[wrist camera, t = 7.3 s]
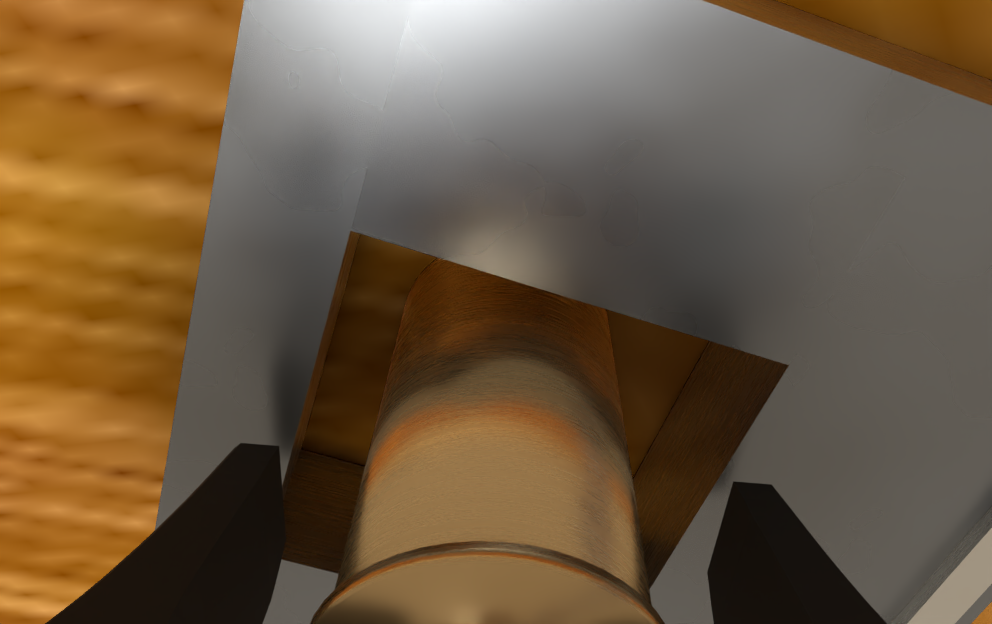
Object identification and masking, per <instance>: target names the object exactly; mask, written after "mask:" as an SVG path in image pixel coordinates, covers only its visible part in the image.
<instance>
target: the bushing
mask: <svg viewBox="0 0 992 624" xmlns="http://www.w3.org/2000/svg"><path fill="white" fill-rule="evenodd" d="M310 624H665V623H664V621H663V620H662V618H661V617H660V615H659V614H658V613H657V611H656V610H655V609H654V608H653V607H652V603H651V597H650V590H649V583H648V577H647V570H646V564H645V557H644V551H643V544H642V538H641V531H640V525H639V518H638V512H637V505H636V499H635V492H634V486H633V479H632V473H631V466H630V460H629V453H628V446H627V440H626V433H625V427H624V420H623V414H622V407H621V401H620V394H619V388H618V381H617V375H616V368H615V362H614V355H613V349H612V342H611V336H610V329H609V323H608V316H607V311H606V309H604V308H601V307H598V306H594V305H591V304H588V303H585V302H581V301H578V300H575V299H571V298H568V297H565V296H562V295H558V294H555V293H552V292H549V291H545V290H542V289H539V288H536V287H532V286H529V285H526V284H523V283H519V282H516V281H513V280H510V279H506V278H503V277H500V276H497V275H493V274H490V273H487V272H484V271H480V270H477V269H474V268H470V267H467V266H464V265H461V264H457V263H454V262H451V261H448V260H444V259H441V258H437V259H435V260H434V261H433V262H432V263H431V264H430V265H429V266H428V267H426V268H425V270H424V271H423V272H422V273H421V274H420V276H419V277H418V278H417V280H416V281H415V283H414V284H413V286H412V288H411V290H410V292H409V295H408V297H407V299H406V303H405V307H404V311H403V315H402V319H401V323H400V328H399V332H398V336H397V340H396V344H395V348H394V352H393V356H392V360H391V364H390V368H389V372H388V376H387V380H386V384H385V388H384V392H383V396H382V400H381V404H380V408H379V412H378V416H377V420H376V425H375V429H374V433H373V437H372V441H371V445H370V449H369V453H368V457H367V461H366V465H365V469H364V473H363V477H362V481H361V485H360V489H359V493H358V497H357V501H356V505H355V509H354V513H353V517H352V521H351V526H350V530H349V534H348V538H347V542H346V546H345V550H344V554H343V558H342V562H341V566H340V570H339V574H338V578H337V582H336V586H335V590H334V591H333V592H332V593H331V594H330V595H329V596H328V597H327V598H326V599H325V600H324V601H323V603H322V604H321V605H320V607H319V608H318V610H317V611H316V612H315V614H314V615H313V618H312V620H311V622H310Z"/></svg>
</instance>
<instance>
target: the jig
mask: <svg viewBox="0 0 992 624" xmlns="http://www.w3.org/2000/svg"><path fill="white" fill-rule="evenodd" d="M360 234H363V235H366V236H369V237H373V238H376V239H379V240H383V241H386V242H389V243H392V244H396V245H399V246H402V247H405V248H409V249H412V250H415V251H418V252H422V253H425V254H428V255H431V256H435V257H438V258H441V259H444V260H448V261H451V262H454V263H457V264H461V265H464V266H467V267H470V268H474V269H477V270H480V271H484V272H487V273H490V274H493V275H497V276H500V277H503V278H506V279H510V280H513V281H516V282H519V283H523V284H526V285H529V286H532V287H536V288H539V289H542V290H545V291H549V292H552V293H555V294H558V295H562V296H565V297H568V298H571V299H575V300H578V301H581V302H585V303H588V304H591V305H594V306H598V307H601V308H604V309H607V310H611V311H614V312H617V313H620V314H624V315H627V316H630V317H633V318H637V319H640V320H643V321H646V322H650V323H653V324H656V325H659V326H663V327H666V328H669V329H672V330H676V331H679V332H682V333H686V334H689V335H692V336H695V337H699V338H702V339H705V340H708V341H709V343H708V345H707V346H706V348H705V350H704V352H703V354H702V356H701V357H700V359H699V361H698V363H697V365H696V366H695V368H694V370H693V372H692V374H691V375H690V377H689V379H688V381H687V383H686V384H685V386H684V388H683V390H682V392H681V394H680V395H679V397H678V399H677V401H676V403H675V404H674V406H673V408H672V410H671V412H670V413H669V415H668V417H667V419H666V421H665V423H664V424H663V426H662V428H661V430H660V432H659V433H658V435H657V437H656V439H655V441H654V442H653V444H652V446H651V448H650V450H649V451H648V453H647V455H646V457H645V459H644V461H643V462H642V464H641V466H640V468H639V470H638V471H637V473H636V475H635V477H634V479H633V486H634V492H635V499H636V505H637V512H638V518H639V525H640V531H641V538H642V544H643V551H644V557H645V564H646V570H647V577H648V583H649V590H650V597H651V603H652V607H653V608H654V609H655V610H656V611H657V613H658V614H659V615H660V617H661V618H662V620H663V621H664V623H665V624H714V621H713V614H712V607H711V599H710V591H709V582H708V574H707V571H708V568H709V564H710V561H711V557H712V554H713V550H714V547H715V543H716V540H717V536H718V533H719V529H720V526H721V522H722V519H723V515H724V512H725V508H726V505H727V501H728V498H729V494H730V491H731V487H732V484H733V481H734V482H747V483H760V484H772V486H773V487H774V488H775V489H776V491H777V492H778V493H779V494H780V496H781V497H782V498H783V499H784V501H785V502H786V503H787V504H788V506H789V507H790V508H791V509H792V511H793V512H794V513H795V515H796V516H797V517H798V518H799V520H800V521H801V522H802V523H803V525H804V526H805V527H806V529H807V530H808V531H809V532H810V534H811V535H812V536H813V537H814V539H815V540H816V541H817V542H818V544H819V545H820V546H821V547H822V549H823V550H824V551H825V552H826V554H827V555H828V556H829V557H830V558H831V560H832V561H833V562H834V563H835V565H836V566H837V567H838V568H839V569H840V571H841V572H842V573H843V574H844V575H845V576H846V578H847V579H848V580H849V581H850V582H851V583H852V585H853V586H854V587H855V588H856V589H857V591H858V592H859V593H860V594H861V595H862V596H863V598H864V599H865V600H866V601H867V602H868V603H869V604H870V605H871V607H872V608H873V609H874V610H875V611H876V612H877V613H878V614H879V615H880V616H881V617H882V619H883V620H884V621H885V622H886V623H887V624H971V623H972V622H973V621H974V620H975V619H976V618H977V617H978V615H979V614H980V613H981V612H982V611H983V610H984V609H985V608H986V607H987V606H988V605H989V604H990V603H991V602H992V80H989V79H986V78H983V77H981V76H978V75H975V74H973V73H970V72H967V71H964V70H962V69H959V68H956V67H954V66H951V65H948V64H946V63H943V62H940V61H937V60H935V59H932V58H929V57H927V56H924V55H921V54H918V53H916V52H913V51H910V50H908V49H905V48H902V47H899V46H897V45H894V44H891V43H889V42H886V41H883V40H881V39H878V38H875V37H872V36H870V35H867V34H864V33H862V32H859V31H856V30H853V29H851V28H848V27H845V26H843V25H840V24H837V23H835V22H832V21H829V20H826V19H824V18H821V17H818V16H816V15H813V14H810V13H807V12H805V11H802V10H799V9H797V8H794V7H791V6H788V5H786V4H783V3H780V2H778V1H775V0H244V4H243V10H242V16H241V22H240V28H239V34H238V40H237V46H236V52H235V58H234V64H233V70H232V76H231V82H230V88H229V93H228V99H227V105H226V111H225V117H224V123H223V129H222V135H221V141H220V147H219V153H218V159H217V165H216V171H215V177H214V183H213V189H212V194H211V200H210V206H209V212H208V218H207V224H206V230H205V236H204V242H203V248H202V254H201V260H200V266H199V272H198V278H197V284H196V289H195V295H194V301H193V307H192V313H191V319H190V325H189V331H188V337H187V343H186V349H185V355H184V361H183V367H182V373H181V379H180V384H179V390H178V396H177V402H176V408H175V414H174V420H173V426H172V432H171V438H170V444H169V450H168V456H167V462H166V468H165V474H164V479H163V485H162V491H161V497H160V503H159V509H158V515H157V521H156V527H155V530H156V529H157V528H158V527H159V526H160V525H161V524H162V523H163V522H164V521H165V520H166V519H167V518H168V517H169V516H170V515H171V514H172V513H173V512H174V511H175V510H176V509H177V508H178V507H179V506H180V505H181V504H182V503H183V502H184V501H185V500H186V499H187V498H188V497H189V496H190V495H191V494H192V493H193V492H194V491H195V490H196V489H197V488H198V487H199V486H200V484H201V483H202V482H203V481H204V480H205V479H206V478H207V477H208V476H209V475H210V474H211V473H212V472H213V471H214V469H215V468H216V467H217V466H218V465H219V464H220V463H221V462H222V461H223V460H224V459H225V457H226V456H227V455H228V454H229V453H230V452H231V451H232V450H233V449H234V448H235V447H236V446H237V445H239V444H240V443H249V444H261V445H274V446H279V451H280V464H281V477H282V491H283V504H284V517H285V530H286V542H285V547H284V551H283V555H282V559H281V563H280V568H279V572H278V576H277V580H276V584H275V588H274V591H273V595H272V599H271V602H270V605H269V608H268V610H267V613H266V616H265V618H264V621H263V624H310V622H311V620H312V618H313V615H314V614H315V612H316V611H317V610H318V608H319V607H320V605H321V604H322V603H323V601H324V600H325V599H326V598H327V597H328V596H329V595H330V594H331V593H332V592H333V591H334V590H335V586H336V582H337V578H338V574H339V570H340V566H341V562H342V558H343V554H344V550H345V546H346V542H347V538H348V534H349V530H350V526H351V521H352V517H353V513H354V509H355V505H356V501H357V497H358V493H359V489H360V485H361V481H362V477H363V473H364V469H365V466H361V465H357V464H354V463H350V462H346V461H342V460H339V459H335V458H331V457H328V456H324V455H320V454H316V453H313V452H309V451H305V450H302V449H301V448H302V444H303V440H304V437H305V433H306V430H307V426H308V422H309V419H310V415H311V411H312V408H313V404H314V400H315V397H316V393H317V389H318V386H319V382H320V378H321V375H322V371H323V368H324V364H325V360H326V357H327V353H328V349H329V346H330V342H331V338H332V335H333V331H334V327H335V324H336V320H337V316H338V313H339V309H340V306H341V302H342V298H343V295H344V291H345V287H346V284H347V280H348V276H349V273H350V269H351V265H352V262H353V258H354V254H355V251H356V247H357V244H358V240H359V236H360Z"/></svg>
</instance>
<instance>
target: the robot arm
mask: <svg viewBox="0 0 992 624" xmlns="http://www.w3.org/2000/svg"><path fill="white" fill-rule="evenodd" d="M285 542H286V530H285V517H284V504H283V491H282V477H281V464H280V451H279V446H274V445H261V444H249V443H240V444H239V445H237V446H236V447H235V448H234V449H233V450H232V451H231V452H230V453H229V454H228V455H227V456H226V457H225V459H224V460H223V461H222V462H221V463H220V464H219V465H218V466H217V467H216V468H215V469H214V471H213V472H212V473H211V474H210V475H209V476H208V477H207V478H206V479H205V480H204V481H203V482H202V483H201V484H200V486H199V487H198V488H197V489H196V490H195V491H194V492H193V493H192V494H191V495H190V496H189V497H188V498H187V499H186V500H185V501H184V502H183V503H182V504H181V505H180V506H179V507H178V508H177V509H176V510H175V511H174V512H173V513H172V514H171V515H170V516H169V517H168V518H167V519H166V520H165V521H164V522H163V523H162V524H161V525H160V526H159V527H158V528H157V529H156V530H155V531H154V532H153V533H152V534H151V535H150V536H149V537H148V538H147V539H146V540H144V541H143V542H142V543H141V544H140V545H139V546H138V547H137V548H136V549H135V550H133V551H132V552H131V553H130V554H129V555H128V556H127V557H126V558H125V559H123V560H122V561H121V562H120V563H119V564H118V565H117V566H116V567H114V568H113V569H112V570H111V571H110V572H109V573H108V574H107V575H106V576H104V577H103V578H102V579H101V580H100V581H98V582H97V583H96V584H95V585H94V586H92V587H91V588H90V589H89V590H88V591H86V592H85V593H84V594H83V595H82V596H80V597H79V598H78V599H77V600H75V601H74V602H73V603H72V604H70V605H69V606H68V607H66V608H65V609H64V610H62V611H61V612H60V613H59V614H57V615H56V616H55V617H53V618H52V619H51V620H49V621H48V622H47V623H45V624H263V621H264V618H265V616H266V613H267V610H268V608H269V605H270V602H271V599H272V595H273V591H274V588H275V584H276V580H277V576H278V572H279V568H280V563H281V559H282V555H283V551H284V547H285ZM707 574H708V582H709V591H710V599H711V607H712V614H713V621H714V624H887V623H886V622H885V621H884V620H883V619H882V617H881V616H880V615H879V614H878V613H877V612H876V611H875V610H874V609H873V608H872V607H871V605H870V604H869V603H868V602H867V601H866V600H865V599H864V598H863V596H862V595H861V594H860V593H859V592H858V591H857V589H856V588H855V587H854V586H853V585H852V583H851V582H850V581H849V580H848V579H847V578H846V576H845V575H844V574H843V573H842V572H841V571H840V569H839V568H838V567H837V566H836V565H835V563H834V562H833V561H832V560H831V558H830V557H829V556H828V555H827V554H826V552H825V551H824V550H823V549H822V547H821V546H820V545H819V544H818V542H817V541H816V540H815V539H814V537H813V536H812V535H811V534H810V532H809V531H808V530H807V529H806V527H805V526H804V525H803V523H802V522H801V521H800V520H799V518H798V517H797V516H796V515H795V513H794V512H793V511H792V509H791V508H790V507H789V506H788V504H787V503H786V502H785V501H784V499H783V498H782V497H781V496H780V494H779V493H778V492H777V491H776V489H775V488H774V487H773V486H772V484H760V483H747V482H734V481H733V484H732V487H731V491H730V494H729V498H728V501H727V505H726V508H725V512H724V515H723V519H722V522H721V526H720V529H719V533H718V536H717V540H716V543H715V547H714V550H713V554H712V557H711V561H710V564H709V568H708V571H707Z"/></svg>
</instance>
